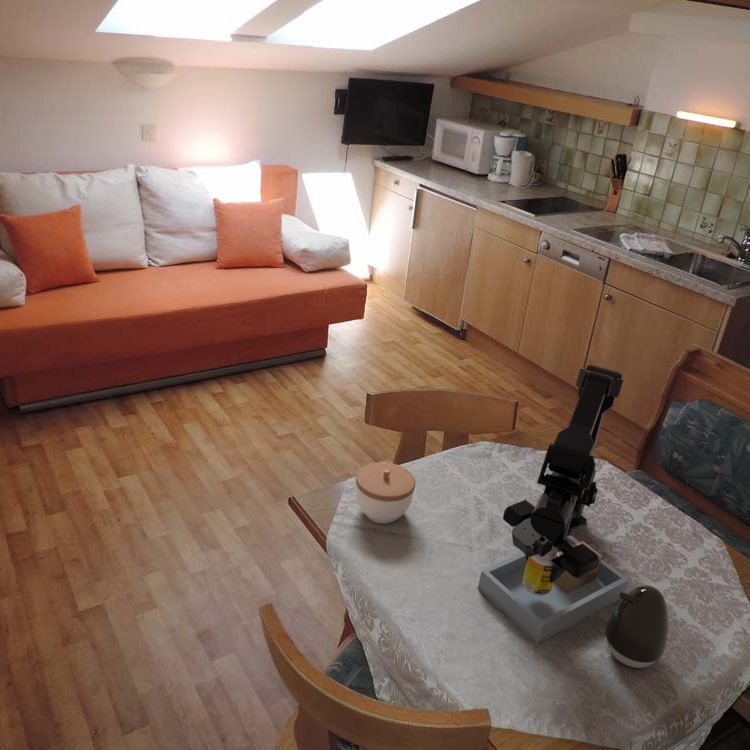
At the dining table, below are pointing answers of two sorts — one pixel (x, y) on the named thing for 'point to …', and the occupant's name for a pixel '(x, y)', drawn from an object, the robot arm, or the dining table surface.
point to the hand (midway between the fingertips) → (540, 572)
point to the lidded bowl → (384, 491)
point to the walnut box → (573, 583)
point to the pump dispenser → (639, 627)
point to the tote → (548, 597)
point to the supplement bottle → (539, 573)
